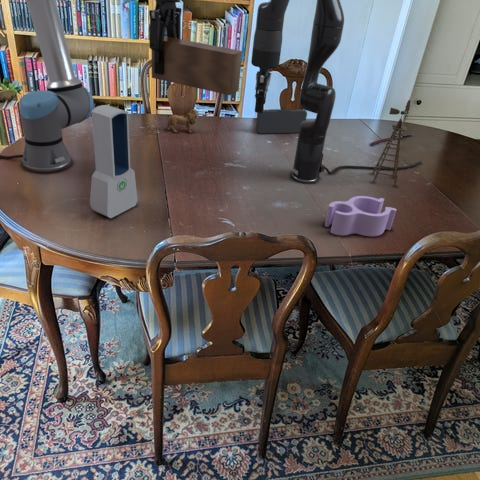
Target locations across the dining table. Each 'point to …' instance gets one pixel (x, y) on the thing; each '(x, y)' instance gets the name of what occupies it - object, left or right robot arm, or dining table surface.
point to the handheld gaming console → (280, 120)
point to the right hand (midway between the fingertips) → (260, 107)
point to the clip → (359, 216)
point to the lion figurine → (183, 120)
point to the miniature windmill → (399, 125)
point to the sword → (386, 139)
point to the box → (200, 65)
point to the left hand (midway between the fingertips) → (165, 71)
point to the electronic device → (112, 163)
